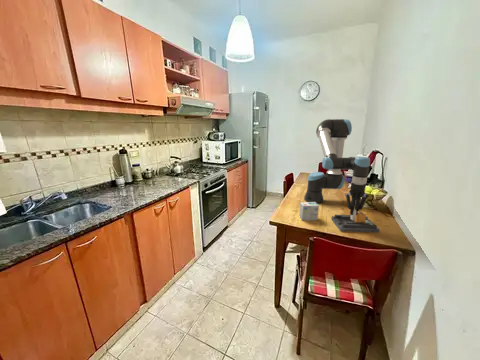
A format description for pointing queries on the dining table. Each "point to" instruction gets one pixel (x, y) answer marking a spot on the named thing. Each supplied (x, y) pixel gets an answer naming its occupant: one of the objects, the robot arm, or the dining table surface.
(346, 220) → the breaker panel
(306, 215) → the light bulb box
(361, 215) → the lever
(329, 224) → the dining table surface
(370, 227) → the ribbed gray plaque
